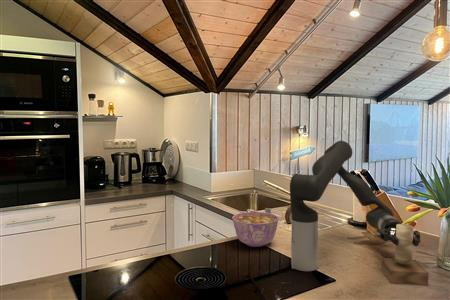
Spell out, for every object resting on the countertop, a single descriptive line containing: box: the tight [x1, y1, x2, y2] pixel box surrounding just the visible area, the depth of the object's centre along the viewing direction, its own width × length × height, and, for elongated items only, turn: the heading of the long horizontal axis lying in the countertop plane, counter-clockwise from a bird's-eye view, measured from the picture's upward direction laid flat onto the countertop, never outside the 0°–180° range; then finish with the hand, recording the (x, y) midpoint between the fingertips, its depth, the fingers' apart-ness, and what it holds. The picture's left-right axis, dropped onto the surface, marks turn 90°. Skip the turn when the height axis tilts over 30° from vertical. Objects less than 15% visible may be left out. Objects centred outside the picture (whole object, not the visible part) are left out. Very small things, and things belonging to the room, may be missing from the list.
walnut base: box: [381, 257, 429, 286], centre depth 116 cm, size 11×11×4 cm
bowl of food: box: [231, 211, 280, 248], centre depth 150 cm, size 20×20×12 cm
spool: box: [394, 223, 414, 264], centre depth 115 cm, size 5×5×12 cm
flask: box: [264, 207, 272, 214], centre depth 172 cm, size 7×7×10 cm
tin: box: [284, 206, 292, 224], centre depth 184 cm, size 15×3×8 cm, turn 141°
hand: (407, 242), depth 113 cm, fingers open, 5 cm apart
